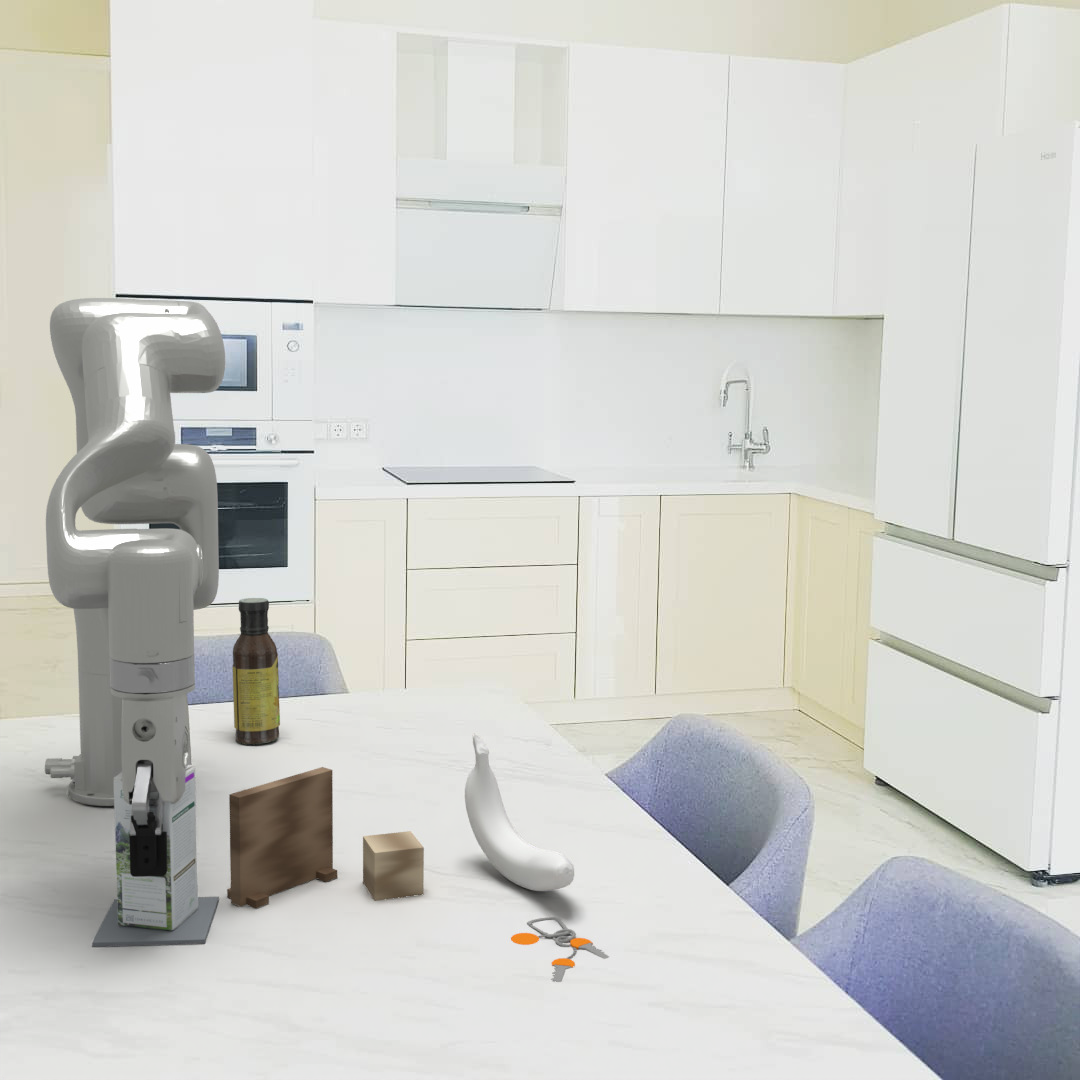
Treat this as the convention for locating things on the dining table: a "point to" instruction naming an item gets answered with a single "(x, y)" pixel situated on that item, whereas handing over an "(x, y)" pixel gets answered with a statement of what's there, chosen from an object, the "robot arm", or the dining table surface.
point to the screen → (281, 836)
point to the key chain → (575, 943)
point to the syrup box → (177, 890)
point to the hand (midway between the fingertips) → (156, 857)
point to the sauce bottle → (255, 676)
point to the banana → (508, 833)
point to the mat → (185, 933)
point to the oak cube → (393, 865)
